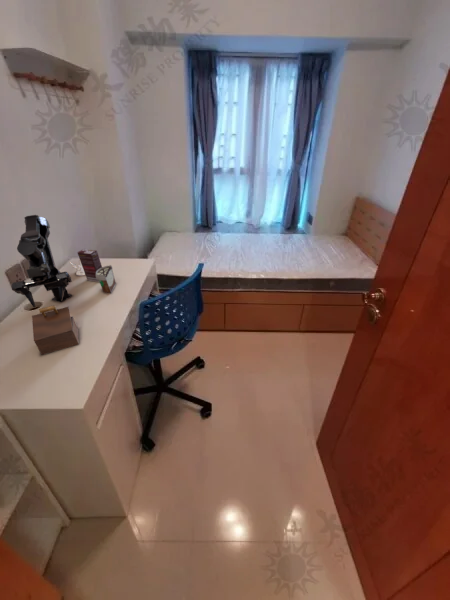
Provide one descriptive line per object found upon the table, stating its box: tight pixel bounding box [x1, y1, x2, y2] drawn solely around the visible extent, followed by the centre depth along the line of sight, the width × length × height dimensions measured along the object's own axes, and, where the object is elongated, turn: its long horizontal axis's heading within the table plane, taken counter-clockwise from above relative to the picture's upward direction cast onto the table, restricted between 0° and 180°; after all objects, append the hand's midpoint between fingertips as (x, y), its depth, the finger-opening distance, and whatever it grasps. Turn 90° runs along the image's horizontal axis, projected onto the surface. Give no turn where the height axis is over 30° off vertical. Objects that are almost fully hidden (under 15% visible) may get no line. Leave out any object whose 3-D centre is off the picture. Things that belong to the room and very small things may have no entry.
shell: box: [69, 255, 86, 276], centre depth 153 cm, size 9×12×9 cm
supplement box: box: [76, 248, 103, 283], centre depth 144 cm, size 9×5×16 cm, turn 71°
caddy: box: [34, 315, 80, 356], centre depth 105 cm, size 10×12×6 cm
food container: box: [96, 264, 117, 294], centre depth 136 cm, size 12×6×10 cm, turn 5°
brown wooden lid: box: [31, 304, 73, 343], centre depth 101 cm, size 11×12×5 cm
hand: (48, 303), depth 105 cm, fingers open, 9 cm apart
